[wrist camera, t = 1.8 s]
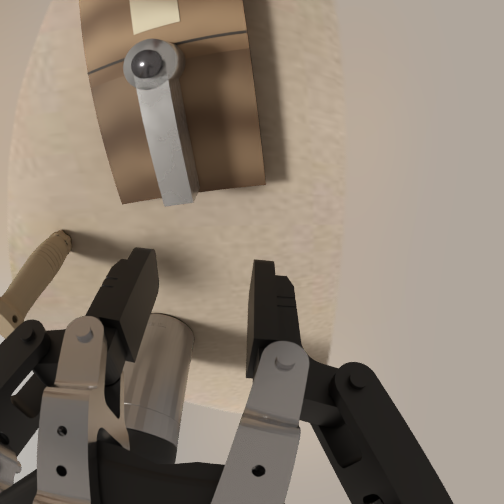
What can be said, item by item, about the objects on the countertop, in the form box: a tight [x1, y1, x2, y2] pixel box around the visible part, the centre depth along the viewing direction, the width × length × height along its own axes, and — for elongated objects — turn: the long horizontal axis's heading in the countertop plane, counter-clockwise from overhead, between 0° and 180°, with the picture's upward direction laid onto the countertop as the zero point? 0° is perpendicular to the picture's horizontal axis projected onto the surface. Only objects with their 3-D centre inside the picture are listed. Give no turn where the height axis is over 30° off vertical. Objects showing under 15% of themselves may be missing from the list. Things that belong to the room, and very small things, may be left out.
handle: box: [0, 230, 72, 339], centre depth 24 cm, size 5×6×15 cm
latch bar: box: [123, 39, 200, 206], centre depth 19 cm, size 14×4×4 cm, turn 7°
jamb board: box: [79, 0, 266, 204], centre depth 19 cm, size 24×14×2 cm, turn 7°
